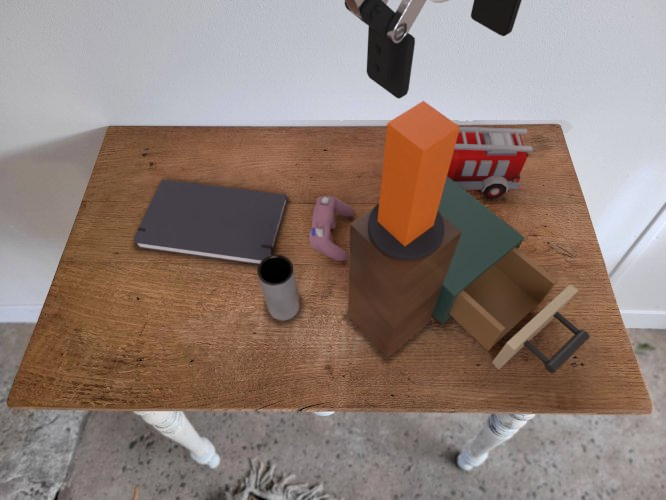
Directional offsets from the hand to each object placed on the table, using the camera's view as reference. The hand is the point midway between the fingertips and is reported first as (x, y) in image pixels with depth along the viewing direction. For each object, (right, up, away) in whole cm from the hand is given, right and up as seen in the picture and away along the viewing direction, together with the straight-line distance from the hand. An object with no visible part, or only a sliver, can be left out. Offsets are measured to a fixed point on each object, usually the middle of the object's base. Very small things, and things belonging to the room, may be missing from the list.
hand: (440, 54), depth 32 cm
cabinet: (+9, -15, +40) cm, 44 cm away
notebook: (-26, -9, +45) cm, 53 cm away
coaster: (0, -11, +17) cm, 20 cm away
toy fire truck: (+14, -1, +49) cm, 51 cm away
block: (0, -10, +16) cm, 19 cm away
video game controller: (-7, -11, +43) cm, 45 cm away
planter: (-14, -21, +37) cm, 45 cm away
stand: (+1, -23, +35) cm, 42 cm away
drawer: (+16, -22, +34) cm, 44 cm away
